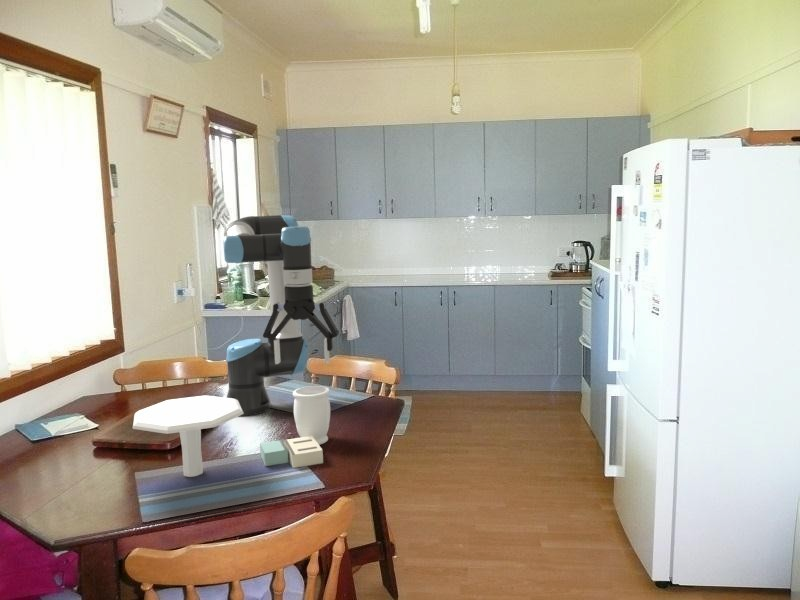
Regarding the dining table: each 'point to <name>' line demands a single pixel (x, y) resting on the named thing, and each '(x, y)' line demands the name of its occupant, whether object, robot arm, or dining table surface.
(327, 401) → the jar
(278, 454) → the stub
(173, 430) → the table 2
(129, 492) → the dining table surface
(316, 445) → the cream slotted block
